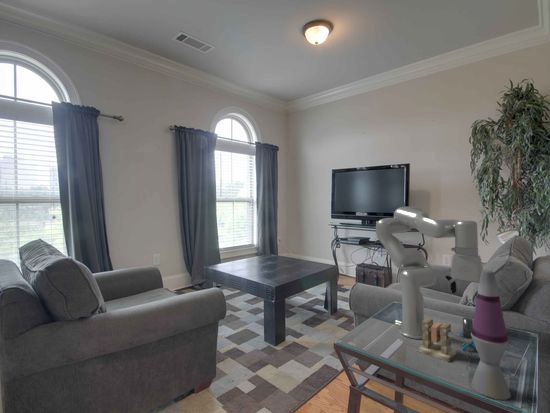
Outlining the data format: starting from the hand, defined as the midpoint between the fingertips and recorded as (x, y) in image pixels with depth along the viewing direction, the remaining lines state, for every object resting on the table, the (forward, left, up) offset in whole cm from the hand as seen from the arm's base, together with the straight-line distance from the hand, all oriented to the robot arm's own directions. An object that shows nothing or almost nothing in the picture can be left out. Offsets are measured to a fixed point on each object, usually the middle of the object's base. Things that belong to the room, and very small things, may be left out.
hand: (468, 295), depth 115 cm
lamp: (+10, -14, -27) cm, 32 cm away
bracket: (-12, 0, -27) cm, 29 cm away
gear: (-2, +12, -27) cm, 29 cm away
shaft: (-8, 0, -19) cm, 20 cm away
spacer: (-12, 0, -22) cm, 24 cm away
